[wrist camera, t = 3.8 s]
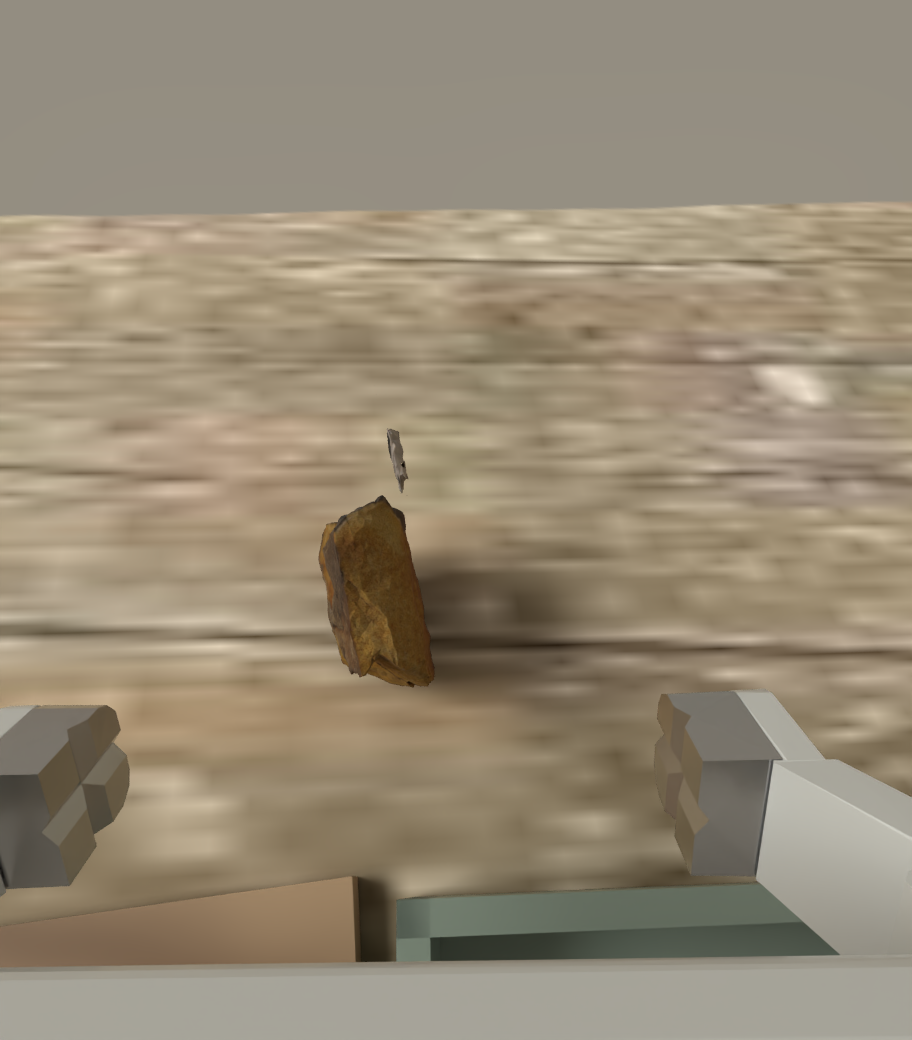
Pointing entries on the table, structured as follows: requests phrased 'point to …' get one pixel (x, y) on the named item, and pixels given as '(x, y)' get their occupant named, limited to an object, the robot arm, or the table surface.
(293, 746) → the table surface
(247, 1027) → the robot arm
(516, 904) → the bin
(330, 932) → the lid
